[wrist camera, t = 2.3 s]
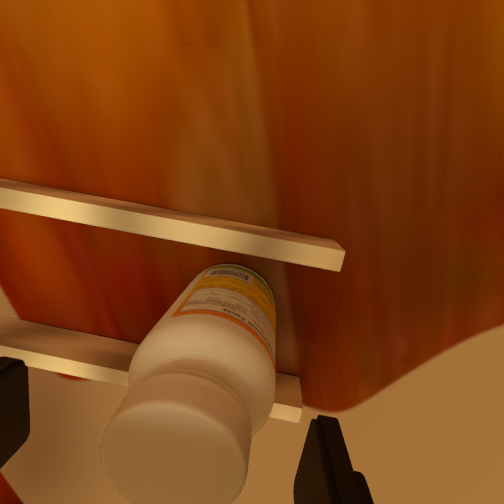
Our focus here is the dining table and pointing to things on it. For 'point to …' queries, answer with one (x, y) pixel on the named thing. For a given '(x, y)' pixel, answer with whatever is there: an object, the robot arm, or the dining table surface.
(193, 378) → the supplement bottle
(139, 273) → the dining table surface
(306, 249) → the guide channel
